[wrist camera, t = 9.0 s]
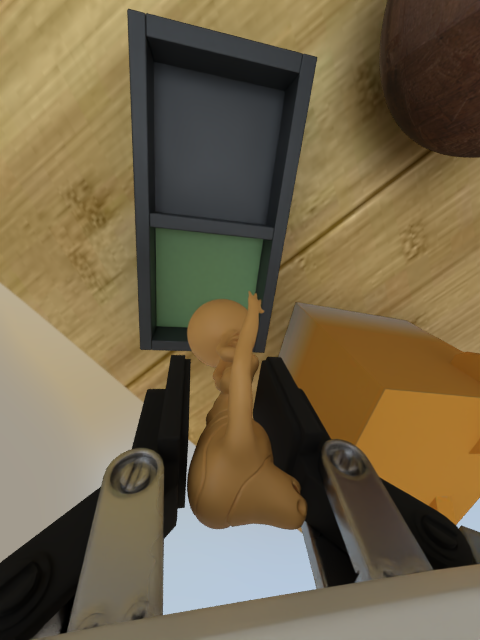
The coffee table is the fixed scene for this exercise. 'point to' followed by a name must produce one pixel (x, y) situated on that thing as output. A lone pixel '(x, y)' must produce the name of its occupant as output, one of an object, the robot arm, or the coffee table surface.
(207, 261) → the tray
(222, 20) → the coffee table surface
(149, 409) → the robot arm
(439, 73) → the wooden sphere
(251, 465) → the figurine
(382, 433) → the fox head
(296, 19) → the coffee table surface
